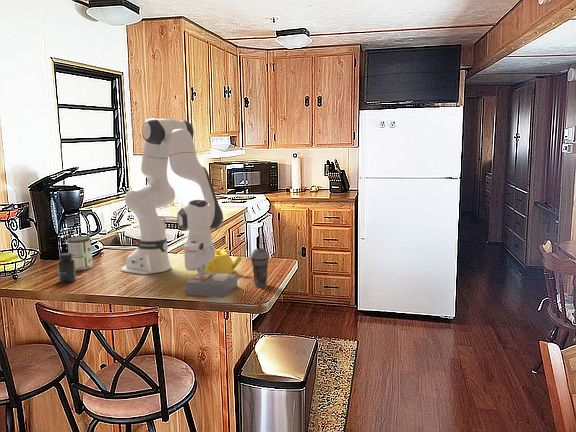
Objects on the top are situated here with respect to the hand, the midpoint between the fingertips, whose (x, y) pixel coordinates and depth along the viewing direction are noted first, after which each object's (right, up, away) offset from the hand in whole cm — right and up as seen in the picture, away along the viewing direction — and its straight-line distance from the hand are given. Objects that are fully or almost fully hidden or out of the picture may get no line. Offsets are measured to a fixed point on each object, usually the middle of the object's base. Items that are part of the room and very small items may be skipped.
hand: (201, 275), depth 209 cm
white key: (+8, -2, -2) cm, 8 cm away
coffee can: (-64, -1, +39) cm, 75 cm away
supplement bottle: (-61, -4, +17) cm, 63 cm away
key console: (+4, -6, 0) cm, 7 cm away
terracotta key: (0, -3, 0) cm, 3 cm away
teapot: (+6, -2, +23) cm, 24 cm away
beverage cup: (+23, -5, +5) cm, 24 cm away
